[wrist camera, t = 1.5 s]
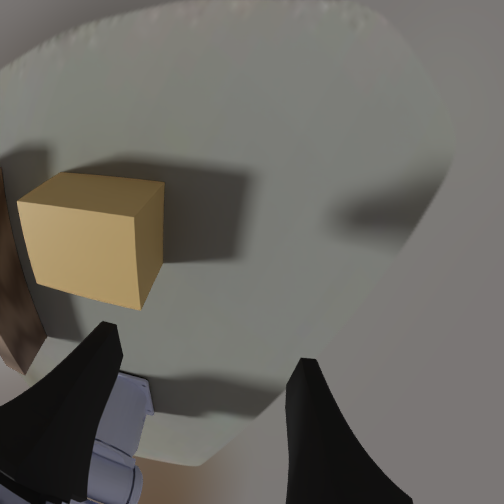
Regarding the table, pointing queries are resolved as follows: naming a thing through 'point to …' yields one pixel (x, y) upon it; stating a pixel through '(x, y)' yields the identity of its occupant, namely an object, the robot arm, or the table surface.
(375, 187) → the table surface
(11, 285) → the walnut block
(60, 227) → the ochre block
